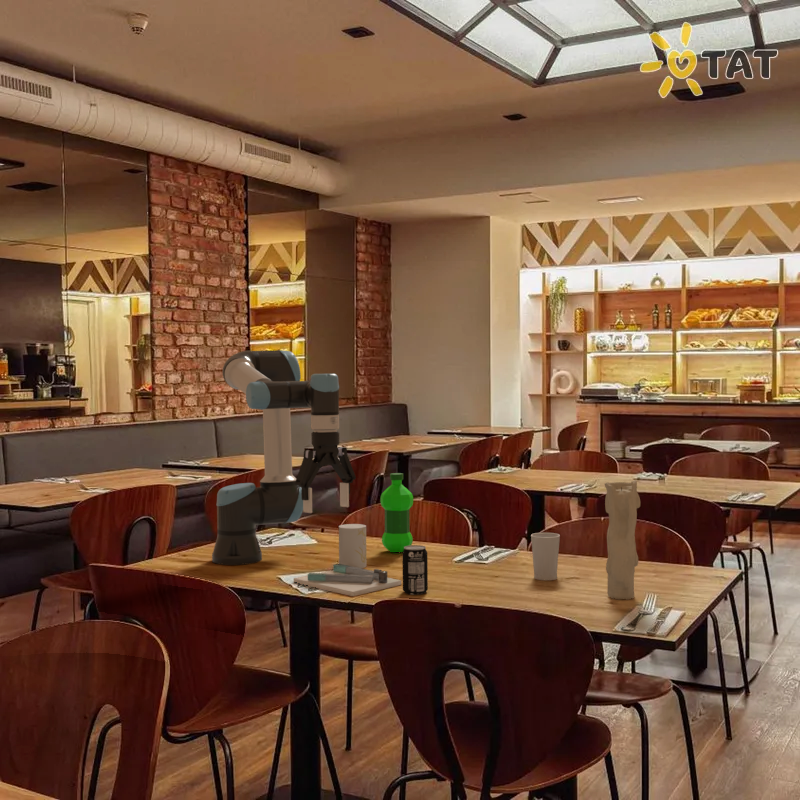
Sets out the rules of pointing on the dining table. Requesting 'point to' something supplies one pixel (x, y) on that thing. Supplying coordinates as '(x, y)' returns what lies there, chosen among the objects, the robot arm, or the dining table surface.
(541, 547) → the cup
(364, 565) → the cup
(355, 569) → the tongs fixed
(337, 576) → the bar
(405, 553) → the beverage can
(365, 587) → the rest board
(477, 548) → the dining table surface
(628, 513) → the beige lumpy column
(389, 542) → the plastic bottle
